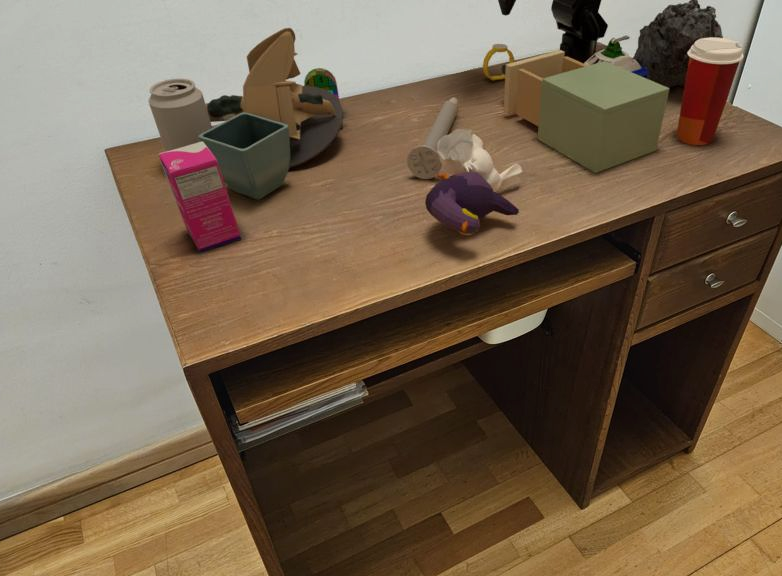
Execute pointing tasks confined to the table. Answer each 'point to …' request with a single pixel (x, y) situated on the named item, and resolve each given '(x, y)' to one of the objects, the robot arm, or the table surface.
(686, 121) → the paper cup
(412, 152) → the screw
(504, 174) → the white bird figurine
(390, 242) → the table surface
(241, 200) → the table surface
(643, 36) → the rock
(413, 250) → the table surface
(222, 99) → the toy
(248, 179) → the flower pot
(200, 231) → the supplement box
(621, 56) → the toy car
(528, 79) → the drawer
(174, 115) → the can
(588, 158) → the storage box
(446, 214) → the toy
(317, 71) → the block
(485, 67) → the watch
